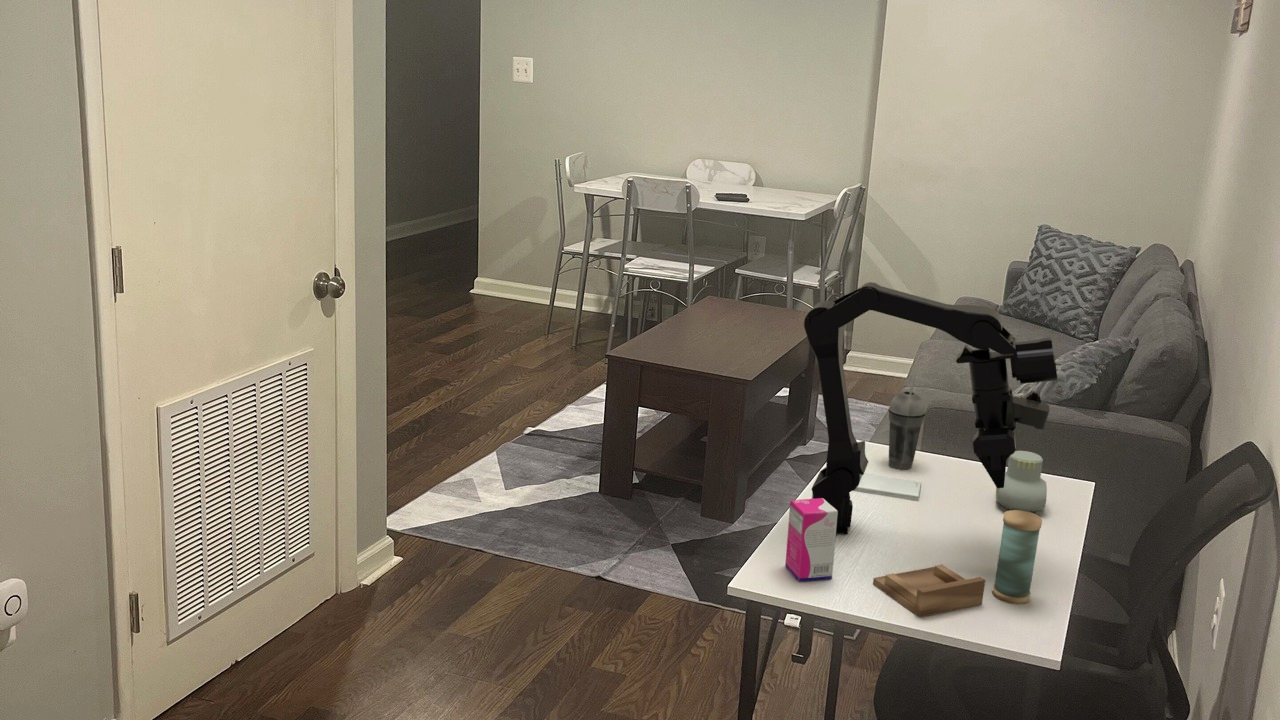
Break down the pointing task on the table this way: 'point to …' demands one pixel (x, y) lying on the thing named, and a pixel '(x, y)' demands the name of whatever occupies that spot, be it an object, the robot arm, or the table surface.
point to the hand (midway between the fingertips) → (1001, 478)
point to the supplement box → (811, 539)
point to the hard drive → (889, 487)
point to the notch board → (932, 590)
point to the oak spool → (1016, 556)
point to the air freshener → (1023, 483)
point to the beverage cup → (904, 428)
